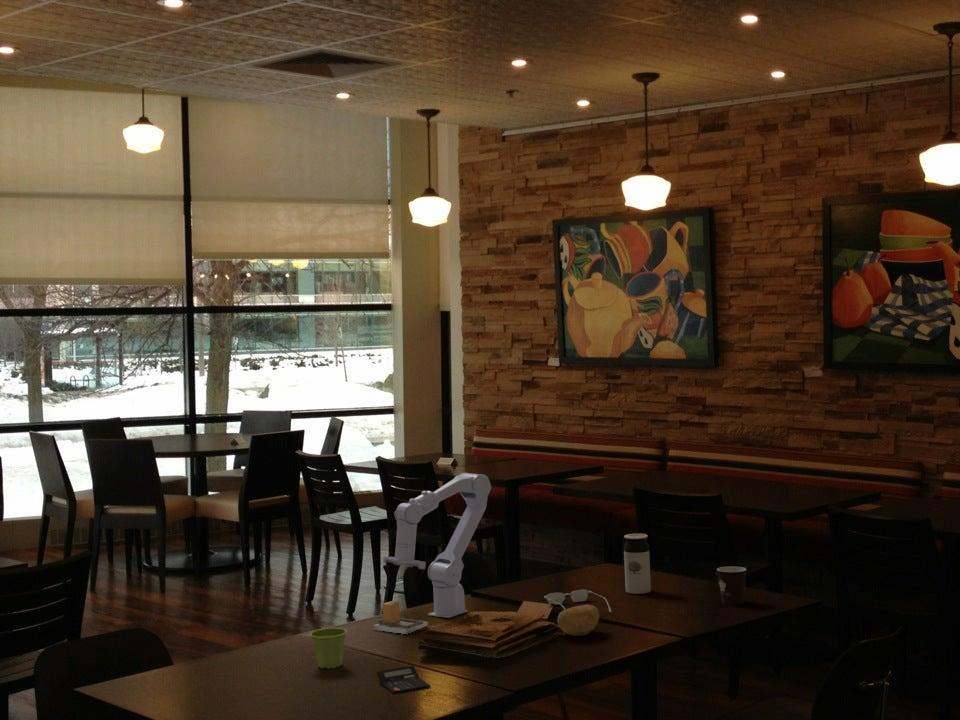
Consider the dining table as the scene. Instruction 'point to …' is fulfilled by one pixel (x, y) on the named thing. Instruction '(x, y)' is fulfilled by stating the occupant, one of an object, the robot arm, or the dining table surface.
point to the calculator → (401, 680)
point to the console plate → (400, 626)
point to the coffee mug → (731, 584)
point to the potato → (578, 620)
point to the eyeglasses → (575, 596)
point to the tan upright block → (391, 612)
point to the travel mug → (637, 564)
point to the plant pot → (329, 646)
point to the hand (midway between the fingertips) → (401, 590)
